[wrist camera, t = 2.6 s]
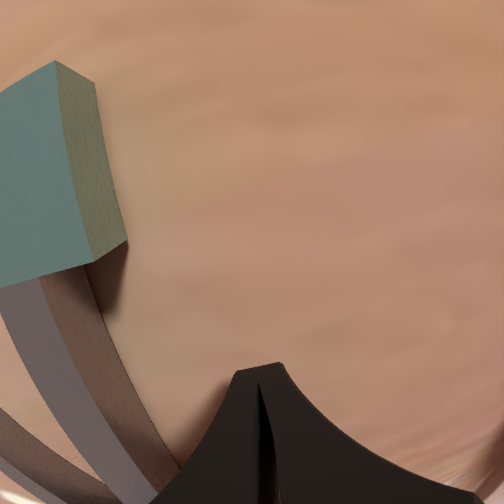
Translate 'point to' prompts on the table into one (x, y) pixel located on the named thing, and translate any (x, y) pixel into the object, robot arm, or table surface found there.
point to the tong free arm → (69, 276)
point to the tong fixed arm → (46, 470)
